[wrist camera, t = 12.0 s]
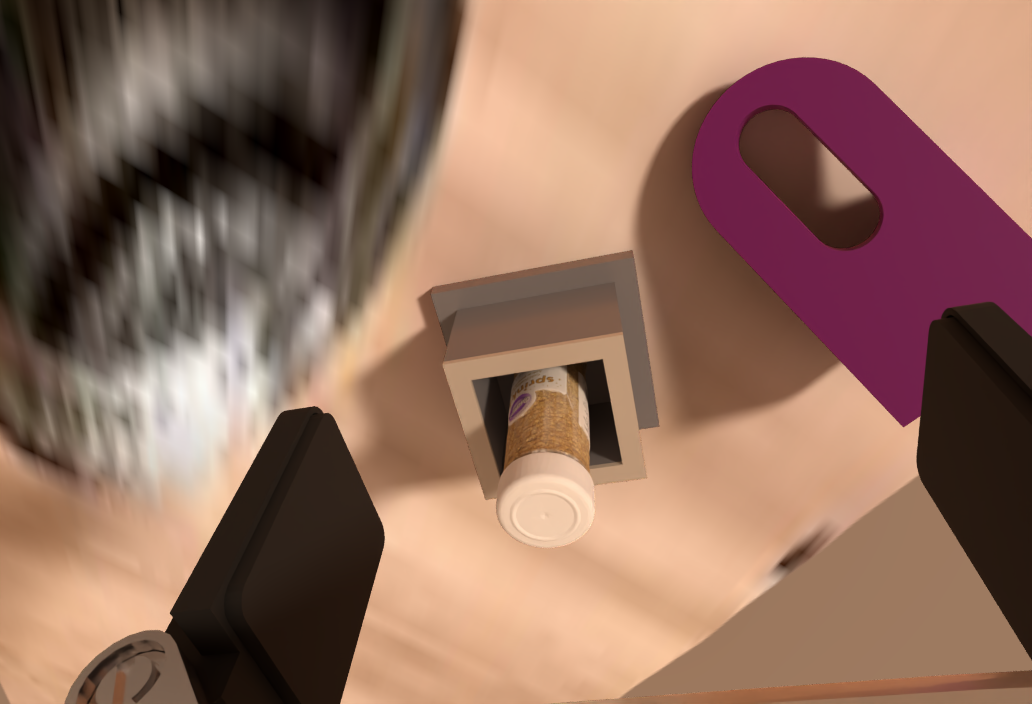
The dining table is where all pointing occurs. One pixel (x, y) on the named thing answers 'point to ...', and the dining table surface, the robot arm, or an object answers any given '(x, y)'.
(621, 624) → the dining table surface
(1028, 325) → the mounting bracket
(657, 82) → the dining table surface
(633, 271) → the well
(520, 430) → the sprinkles bottle
